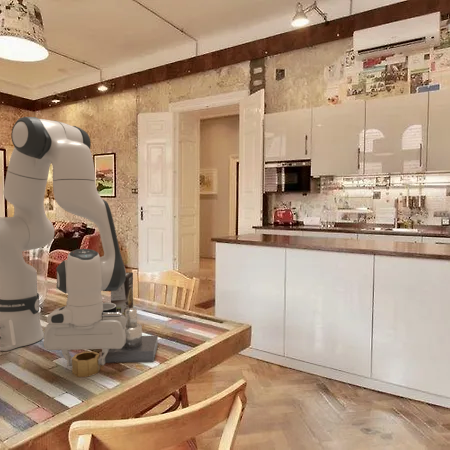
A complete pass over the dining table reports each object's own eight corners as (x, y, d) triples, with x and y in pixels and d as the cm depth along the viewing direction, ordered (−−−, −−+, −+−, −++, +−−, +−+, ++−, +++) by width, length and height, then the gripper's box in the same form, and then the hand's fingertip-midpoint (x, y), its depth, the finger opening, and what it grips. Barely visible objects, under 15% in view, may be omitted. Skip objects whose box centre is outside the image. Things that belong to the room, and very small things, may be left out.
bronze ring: (69, 377, 99) (69, 361, 99) (77, 366, 105) (77, 351, 105) (95, 376, 99) (95, 361, 99) (101, 365, 106) (101, 351, 105)
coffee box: (127, 319, 145) (127, 276, 143) (110, 319, 145) (109, 276, 143) (134, 312, 154) (133, 272, 152) (117, 312, 154) (117, 271, 153)
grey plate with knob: (102, 362, 108) (101, 316, 107) (111, 346, 120) (110, 304, 119) (153, 361, 109) (153, 315, 108) (157, 345, 121) (157, 303, 120)
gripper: (128, 308, 105) (128, 358, 106) (49, 309, 104) (50, 360, 105) (123, 315, 99) (124, 368, 100) (40, 317, 97) (41, 371, 98)
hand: (86, 364), depth 102 cm, fingers closed on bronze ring, 6 cm apart
